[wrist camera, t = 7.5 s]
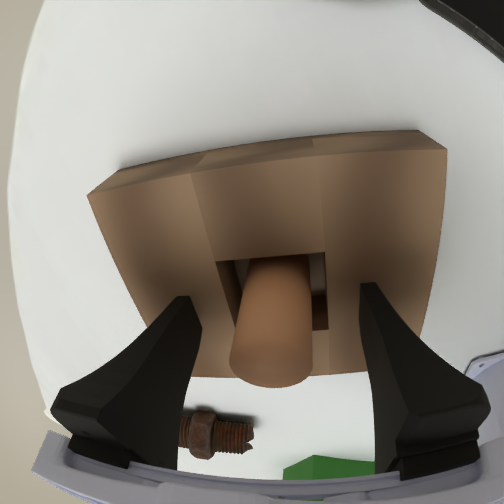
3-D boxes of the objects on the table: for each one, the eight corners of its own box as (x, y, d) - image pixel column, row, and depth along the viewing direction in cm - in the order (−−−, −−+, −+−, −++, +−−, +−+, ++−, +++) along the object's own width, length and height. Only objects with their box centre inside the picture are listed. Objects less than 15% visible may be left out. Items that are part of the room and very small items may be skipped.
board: (418, 130, 12) (447, 149, 9) (401, 327, 18) (411, 365, 16) (118, 170, 14) (86, 195, 12) (186, 340, 21) (175, 375, 18)
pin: (305, 237, 15) (308, 335, 10) (312, 286, 16) (315, 385, 11) (243, 245, 15) (218, 341, 10) (256, 292, 17) (240, 388, 12)
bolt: (256, 408, 29) (118, 391, 30) (252, 410, 24) (94, 387, 26) (253, 462, 26) (114, 440, 27) (248, 473, 22) (90, 443, 23)
